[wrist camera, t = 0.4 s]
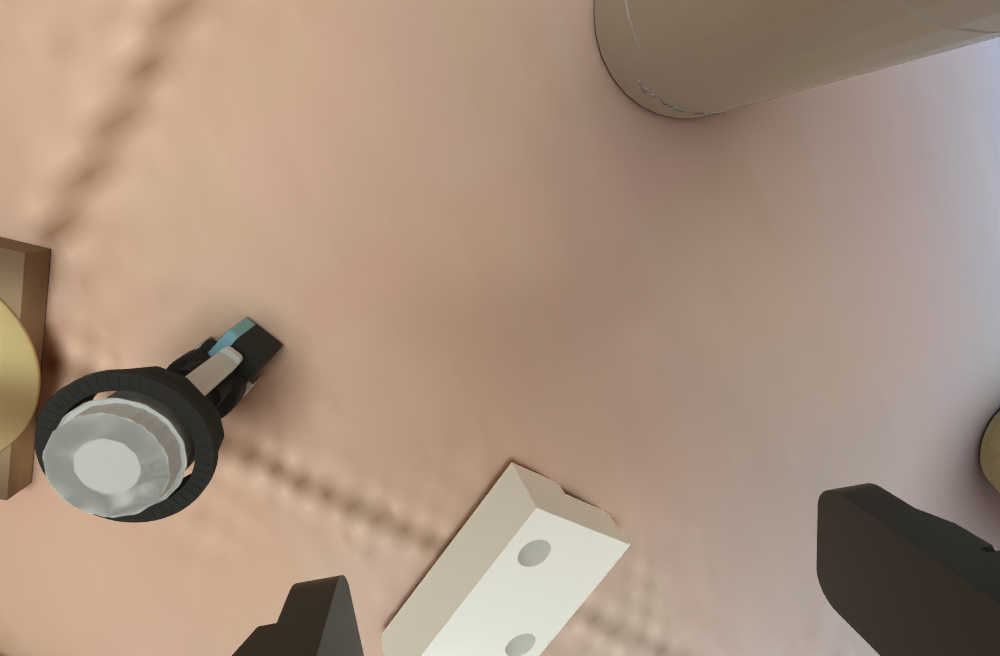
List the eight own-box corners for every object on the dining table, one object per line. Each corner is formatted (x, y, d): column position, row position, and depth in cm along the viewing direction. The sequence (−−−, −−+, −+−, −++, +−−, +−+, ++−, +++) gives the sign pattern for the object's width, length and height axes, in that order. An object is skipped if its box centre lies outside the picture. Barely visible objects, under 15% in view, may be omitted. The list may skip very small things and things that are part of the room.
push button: (228, 449, 26) (107, 597, 17) (134, 384, 25) (-55, 506, 15) (312, 357, 26) (236, 457, 16) (221, 285, 24) (78, 348, 15)
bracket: (476, 653, 33) (516, 791, 26) (380, 635, 30) (399, 787, 23) (599, 500, 31) (675, 608, 25) (511, 462, 28) (573, 575, 21)
